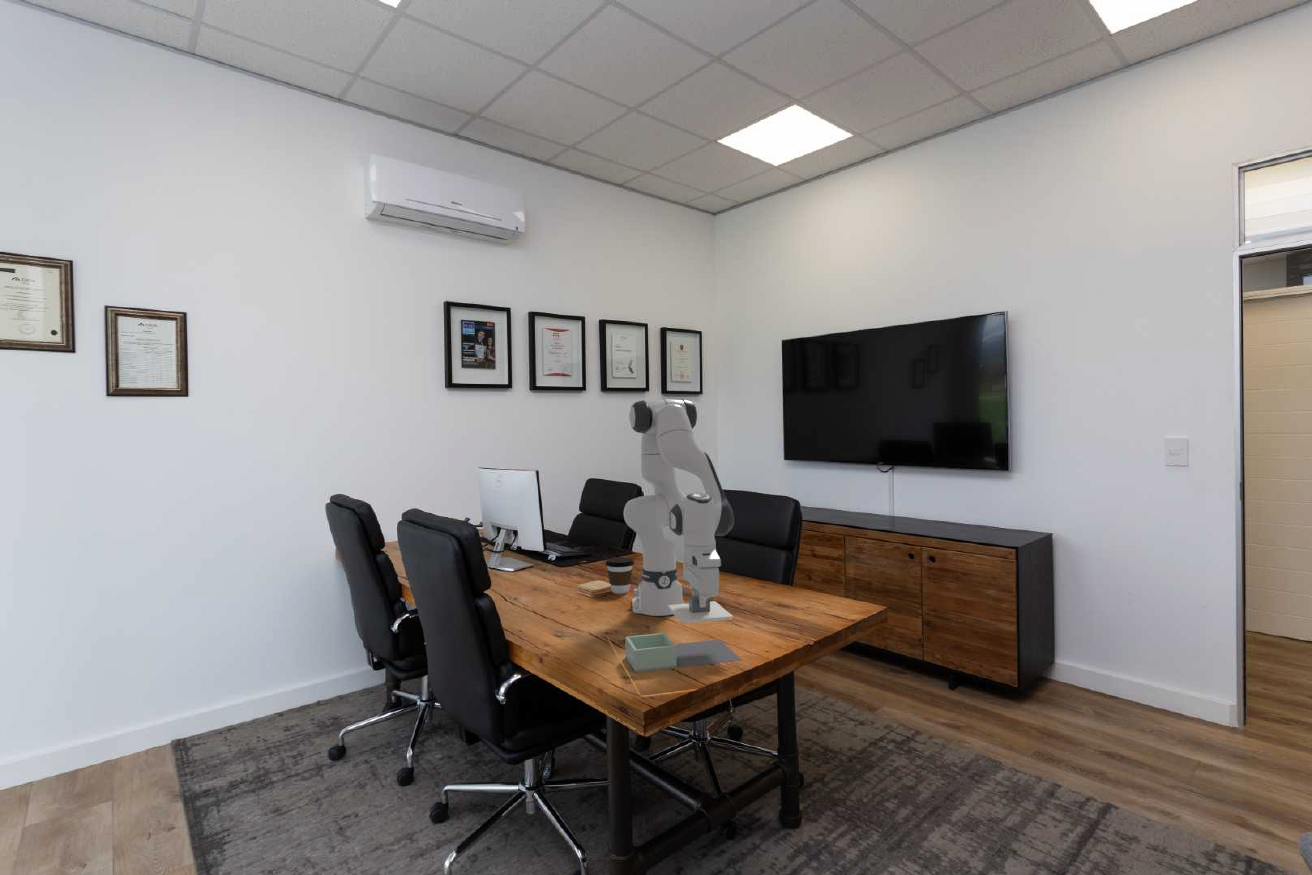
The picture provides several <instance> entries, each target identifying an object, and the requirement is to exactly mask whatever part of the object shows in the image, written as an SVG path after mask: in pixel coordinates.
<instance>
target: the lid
mask: <svg viewBox="0 0 1312 875" xmlns="http://www.w3.org/2000/svg"><path fill="white" fill-rule="evenodd" d="M688 600H689V601H688V603H685V604H676V605H668V609H669V610H670V611H671V612H672V613H673V614H672V615H674V616H675V618H677V620H678V621H679V622H680V623H681V625H683V624H685V625H686V624H693V623H694V624H696V623H704V622H705V623H707V622H717V621H718V622H719V621H727V620H734V616H733V614H731V613H730V612H729V611H727V610H726V609H725V608H724V607H722V606H721V604H719V603H718V602H716V601H713V600H711V597H707V600H706V607H700V606H699V605H698V600H699V596H696V597H693V596H689V597H688Z"/></svg>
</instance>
